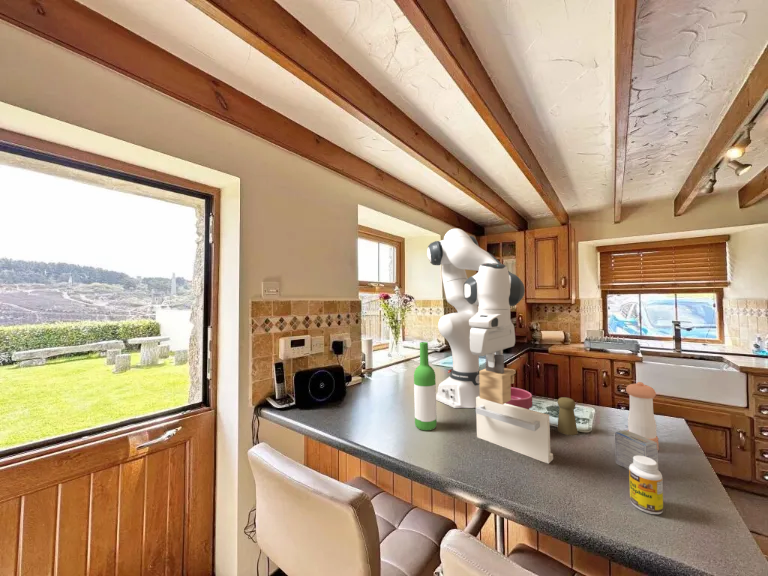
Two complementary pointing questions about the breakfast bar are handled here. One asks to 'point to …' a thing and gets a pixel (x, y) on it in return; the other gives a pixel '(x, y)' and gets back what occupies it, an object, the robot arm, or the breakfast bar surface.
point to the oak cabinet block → (496, 381)
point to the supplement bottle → (646, 485)
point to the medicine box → (633, 448)
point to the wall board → (514, 428)
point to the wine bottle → (425, 392)
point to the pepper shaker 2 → (642, 411)
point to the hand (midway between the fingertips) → (494, 366)
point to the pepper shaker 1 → (566, 416)
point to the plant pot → (520, 398)
